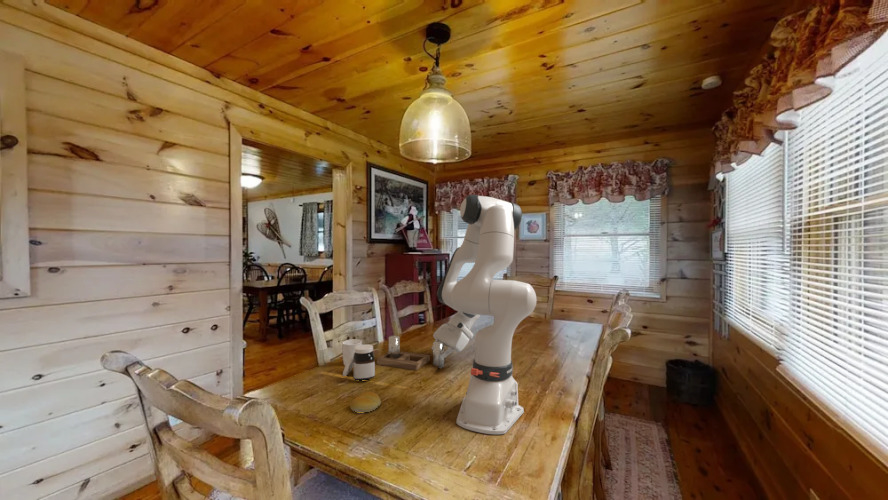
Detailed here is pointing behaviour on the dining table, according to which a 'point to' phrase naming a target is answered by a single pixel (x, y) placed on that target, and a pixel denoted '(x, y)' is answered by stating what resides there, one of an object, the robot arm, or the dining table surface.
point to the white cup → (349, 349)
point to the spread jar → (361, 363)
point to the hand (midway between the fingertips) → (437, 353)
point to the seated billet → (394, 347)
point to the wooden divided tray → (404, 360)
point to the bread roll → (365, 402)
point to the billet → (438, 353)
